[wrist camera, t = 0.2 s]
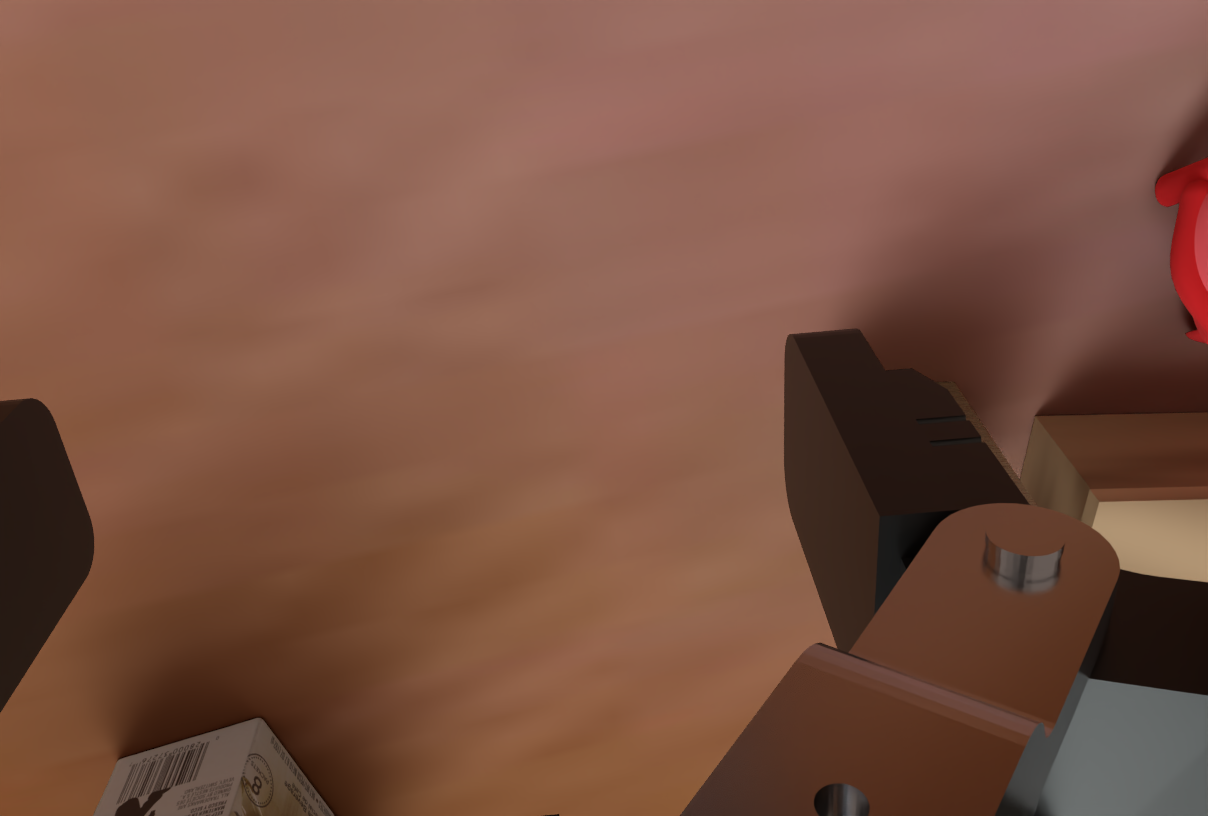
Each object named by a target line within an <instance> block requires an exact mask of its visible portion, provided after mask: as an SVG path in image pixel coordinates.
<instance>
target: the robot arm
mask: <svg viewBox="0 0 1208 816" xmlns="http://www.w3.org/2000/svg"><path fill="white" fill-rule="evenodd" d="M784 469H785V482H786V491H787V498H788V503H789V508H790V513H791V516H792V519H793V522H794V525H795V528H796V531H797V534H798V537H799V540H800V542H801V545H802V548H803V551H804V554H805V557H806V560H807V562H808V565H809V568H810V571H811V574H812V577H813V580H814V582H815V585H816V588H817V591H818V594H819V597H820V600H821V603H822V605H823V608H824V611H825V614H826V617H827V620H828V623H829V625H830V628H831V631H832V634H833V637H834V640H835V643H836V645H837V648H838V649H836V648H834V647H831V646H828V645H825V644H822V643H816V644H813V645H812V646H810V647H809V648H807V649H806V650H805V651H804V652H803V653H802V654H801V655H800V657H799V658H798V659H797V660H796V661H795V663H794V664H793V665H792V667H791V668H790V669H789V671H788V672H787V673H786V675H785V676H784V677H783V679H782V680H781V681H780V683H779V684H778V685H777V687H776V688H775V689H774V691H773V692H772V693H771V695H770V696H769V697H768V699H767V700H766V701H765V703H764V704H763V705H762V707H761V708H760V709H759V711H758V712H757V713H756V715H755V716H754V717H753V719H752V720H751V721H750V723H749V724H748V725H747V727H746V728H745V729H744V731H743V732H742V733H741V735H740V736H739V737H738V739H737V740H736V741H735V743H734V744H733V745H732V747H731V748H730V749H729V751H728V752H727V753H726V755H725V756H724V757H723V759H722V760H721V761H720V763H719V764H718V765H717V767H716V768H715V769H714V771H713V772H712V773H711V775H710V776H709V777H708V779H707V780H706V781H705V783H704V784H703V785H702V787H701V788H700V789H699V791H698V792H697V793H696V795H695V796H694V797H693V799H692V800H691V801H690V803H689V804H688V805H687V807H686V808H685V810H684V811H683V812H682V814H681V815H680V816H1208V582H1201V581H1193V580H1184V579H1175V578H1167V577H1158V576H1152V575H1145V574H1139V573H1135V572H1131V571H1127V570H1122V569H1120V563H1119V559H1118V556H1117V554H1116V551H1115V550H1114V548H1113V547H1112V546H1111V544H1110V543H1109V542H1108V541H1107V540H1106V539H1105V538H1104V537H1103V536H1102V535H1101V534H1100V533H1099V532H1097V531H1096V530H1094V529H1093V528H1091V527H1090V526H1089V525H1087V524H1085V523H1083V522H1081V521H1079V520H1077V519H1075V518H1073V517H1071V516H1068V515H1066V514H1063V513H1060V512H1057V511H1054V510H1050V509H1047V508H1042V507H1037V506H1033V505H1030V504H1029V503H1028V501H1027V500H1026V498H1025V497H1024V496H1023V494H1022V493H1021V491H1020V490H1019V489H1018V487H1017V486H1016V484H1015V483H1014V482H1013V480H1012V479H1011V477H1010V476H1009V475H1008V473H1007V472H1006V470H1005V469H1004V468H1003V466H1002V465H1001V463H1000V462H999V461H998V459H997V458H996V456H995V455H994V454H993V452H992V451H991V449H990V448H989V447H988V445H987V444H986V443H985V442H982V441H981V436H980V434H979V433H978V431H977V430H976V429H975V427H974V426H973V424H972V423H971V422H970V420H966V415H965V413H964V412H963V410H962V409H961V408H960V406H959V405H958V403H957V402H956V401H955V399H954V398H953V396H952V395H951V394H950V392H949V391H948V389H946V388H945V387H943V386H941V385H939V384H938V383H936V382H934V381H933V380H931V379H929V378H927V377H926V376H924V375H922V374H920V373H919V372H917V371H915V370H914V369H912V368H910V369H899V370H887V371H885V370H884V368H883V366H882V365H881V363H880V361H879V360H878V358H877V357H876V355H875V353H874V352H873V350H872V349H871V347H870V345H869V344H868V342H867V341H866V339H865V337H864V336H863V334H862V333H861V331H860V330H859V329H846V330H835V331H823V332H812V333H800V334H789V335H788V337H787V340H786V346H785V384H784ZM93 555H94V534H93V527H92V523H91V519H90V516H89V513H88V511H87V508H86V505H85V502H84V500H83V497H82V494H81V491H80V489H79V486H78V483H77V481H76V478H75V475H74V472H73V470H72V467H71V464H70V461H69V459H68V456H67V453H66V451H65V448H64V445H63V442H62V440H61V437H60V434H59V431H58V429H57V426H56V423H55V421H54V419H53V416H52V415H51V413H50V411H49V410H48V408H47V407H46V406H45V405H44V404H43V403H42V402H40V401H39V400H37V399H33V398H30V399H19V400H7V401H0V712H1V711H2V709H3V708H4V706H5V705H6V703H7V701H8V700H9V698H10V697H11V695H12V694H13V692H14V690H15V689H16V687H17V686H18V684H19V683H20V681H21V680H22V678H23V676H24V675H25V673H26V672H27V670H28V669H29V667H30V665H31V664H32V662H33V661H34V659H35V658H36V656H37V654H38V653H39V651H40V650H41V648H42V647H43V645H44V643H45V642H46V640H47V639H48V637H49V636H50V634H51V633H52V631H53V629H54V628H55V626H56V625H57V623H58V622H59V620H60V618H61V617H62V615H63V614H64V612H65V611H66V609H67V607H68V606H69V604H70V603H71V601H72V600H73V598H74V597H75V595H76V593H77V592H78V590H79V589H80V587H81V586H82V584H83V582H84V581H85V579H86V577H87V576H88V574H89V571H90V568H91V565H92V561H93ZM545 816H559V814H557V815H545Z"/></svg>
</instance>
